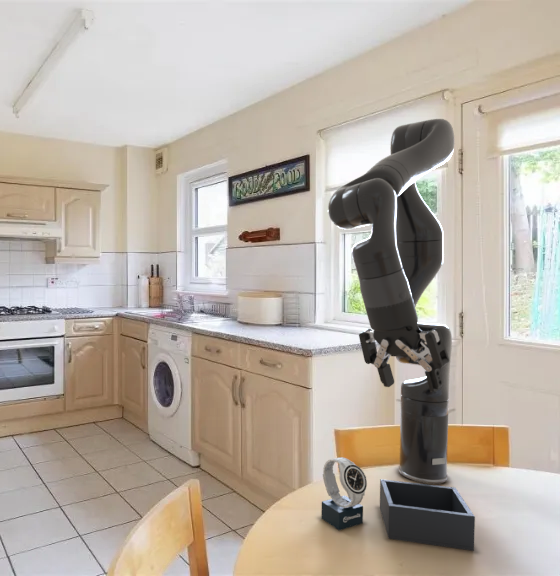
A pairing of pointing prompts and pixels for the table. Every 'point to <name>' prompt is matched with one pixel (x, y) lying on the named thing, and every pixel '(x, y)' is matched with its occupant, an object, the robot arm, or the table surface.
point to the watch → (342, 508)
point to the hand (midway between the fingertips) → (411, 387)
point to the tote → (426, 514)
